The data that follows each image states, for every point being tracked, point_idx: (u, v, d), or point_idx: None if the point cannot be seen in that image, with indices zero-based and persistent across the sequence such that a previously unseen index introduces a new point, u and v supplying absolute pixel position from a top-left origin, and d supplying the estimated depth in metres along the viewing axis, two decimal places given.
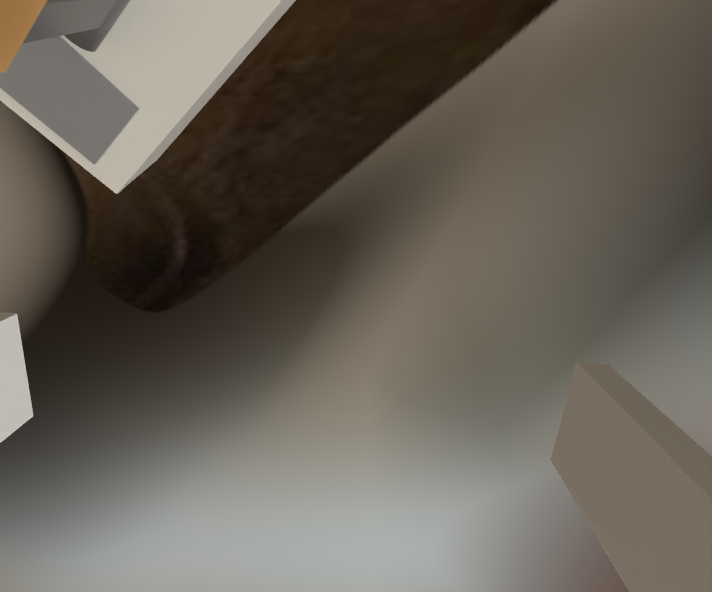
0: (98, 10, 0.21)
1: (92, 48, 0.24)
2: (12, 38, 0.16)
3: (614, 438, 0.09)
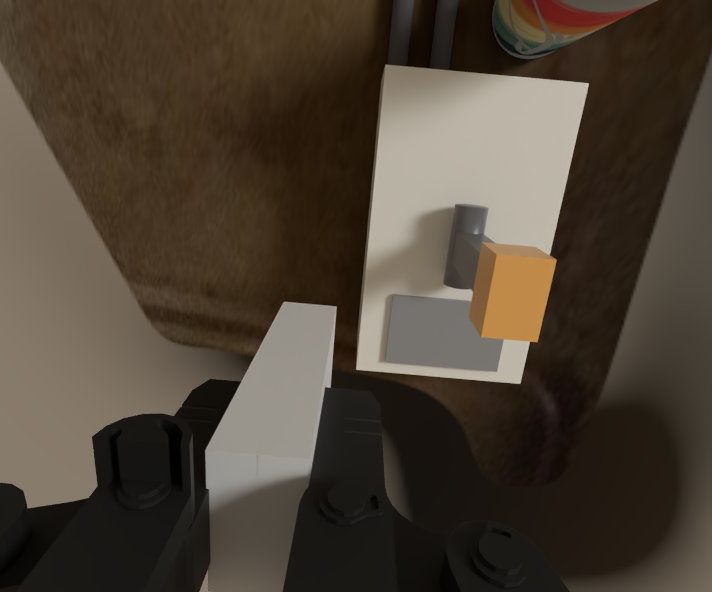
0: None
1: None
2: None
3: None
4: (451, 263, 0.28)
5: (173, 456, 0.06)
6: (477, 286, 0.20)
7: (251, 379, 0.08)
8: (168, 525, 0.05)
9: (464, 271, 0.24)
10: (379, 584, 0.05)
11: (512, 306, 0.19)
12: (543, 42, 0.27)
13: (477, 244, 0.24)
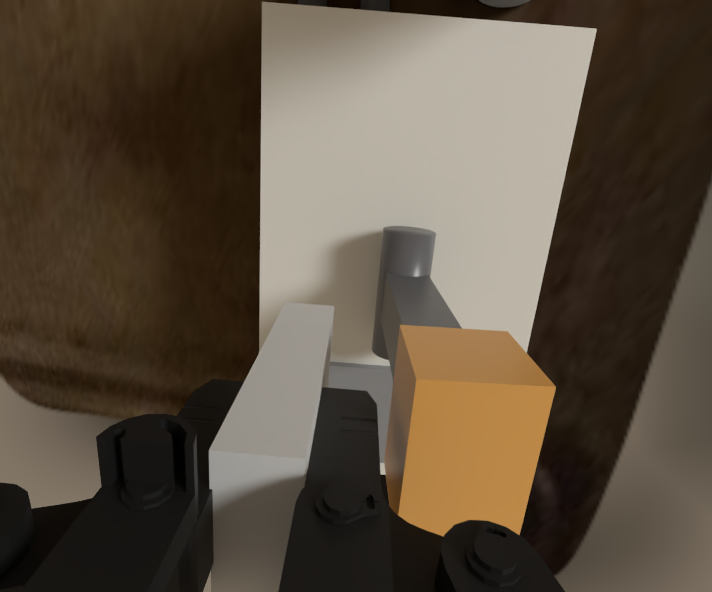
0: None
1: None
2: None
3: None
4: (380, 321, 0.18)
5: (177, 457, 0.06)
6: (393, 414, 0.10)
7: (253, 379, 0.08)
8: (172, 526, 0.05)
9: (390, 349, 0.14)
10: (374, 584, 0.05)
11: (458, 483, 0.08)
12: None
13: (409, 305, 0.13)
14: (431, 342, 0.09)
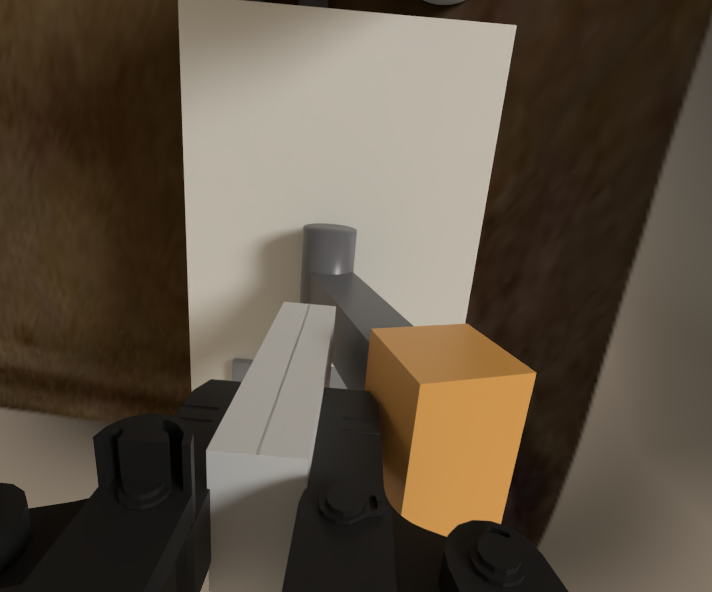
0: None
1: None
2: None
3: None
4: None
5: (174, 456, 0.06)
6: None
7: (252, 379, 0.08)
8: (169, 525, 0.05)
9: (333, 351, 0.14)
10: (378, 584, 0.05)
11: (454, 477, 0.09)
12: None
13: (351, 305, 0.13)
14: (410, 343, 0.09)
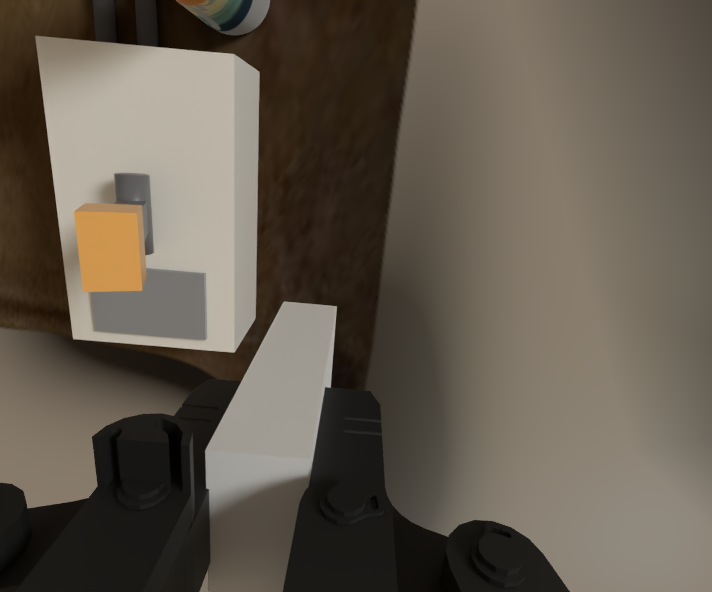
0: (145, 216, 0.27)
1: (152, 250, 0.30)
2: (142, 244, 0.22)
3: None
4: None
5: (173, 456, 0.06)
6: None
7: (251, 379, 0.08)
8: (168, 525, 0.05)
9: None
10: (379, 585, 0.05)
11: (106, 259, 0.20)
12: (199, 15, 0.28)
13: None
14: (95, 206, 0.21)
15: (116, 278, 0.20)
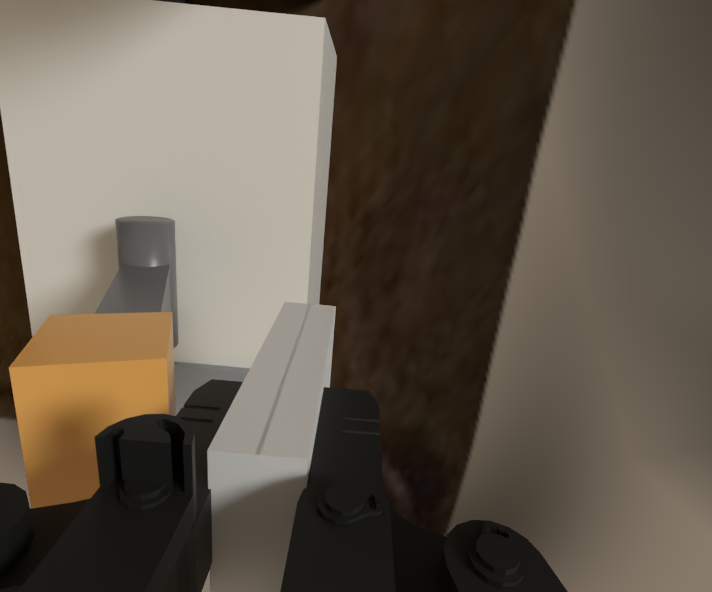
0: (168, 295, 0.16)
1: (176, 341, 0.18)
2: (173, 398, 0.10)
3: None
4: None
5: (175, 456, 0.06)
6: None
7: (252, 379, 0.08)
8: (170, 525, 0.05)
9: None
10: (376, 584, 0.05)
11: (91, 464, 0.08)
12: None
13: (119, 295, 0.13)
14: (69, 329, 0.09)
15: None
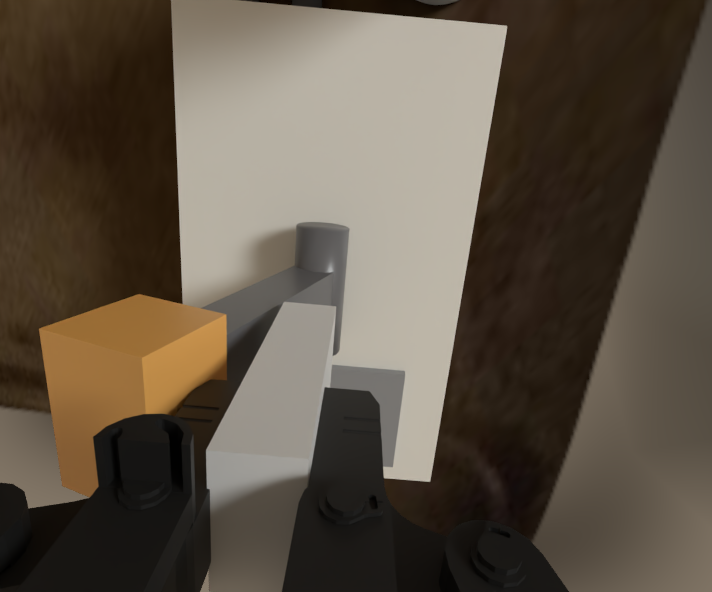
0: (317, 302, 0.16)
1: (333, 350, 0.18)
2: None
3: None
4: None
5: (174, 456, 0.06)
6: None
7: (251, 379, 0.08)
8: (169, 525, 0.05)
9: None
10: (378, 584, 0.05)
11: (92, 440, 0.09)
12: None
13: (251, 292, 0.14)
14: (128, 309, 0.10)
15: None
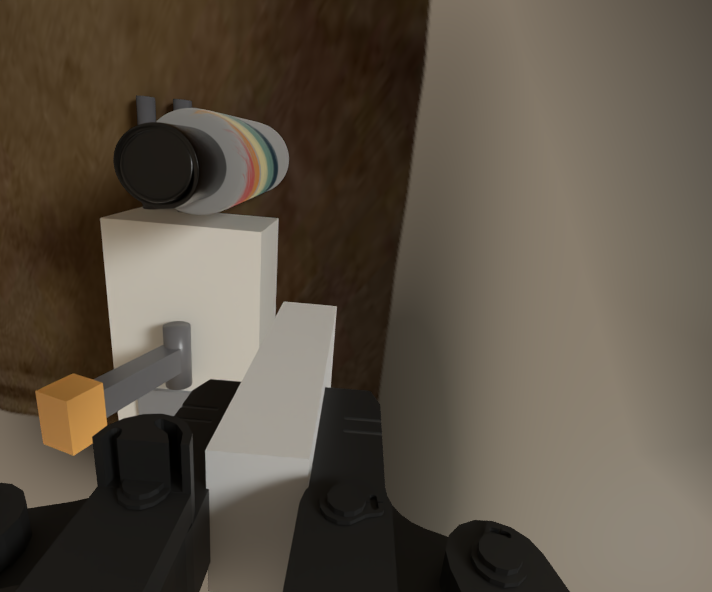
0: (168, 365, 0.33)
1: (185, 386, 0.35)
2: (94, 414, 0.27)
3: None
4: None
5: (173, 456, 0.06)
6: None
7: (251, 379, 0.08)
8: (168, 525, 0.05)
9: None
10: (378, 584, 0.05)
11: (53, 427, 0.26)
12: None
13: (129, 364, 0.31)
14: (67, 381, 0.27)
15: (59, 441, 0.26)
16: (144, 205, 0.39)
